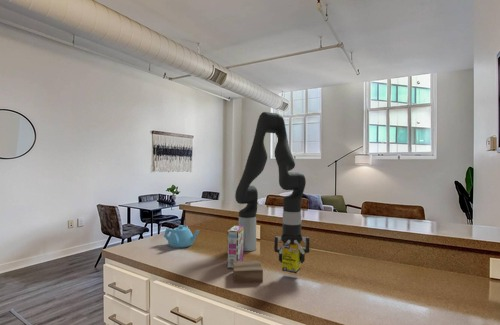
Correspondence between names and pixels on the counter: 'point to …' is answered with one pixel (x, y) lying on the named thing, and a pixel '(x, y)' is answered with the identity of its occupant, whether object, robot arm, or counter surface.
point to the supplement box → (291, 258)
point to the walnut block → (247, 272)
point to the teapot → (180, 236)
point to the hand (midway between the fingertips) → (291, 262)
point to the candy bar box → (235, 245)
